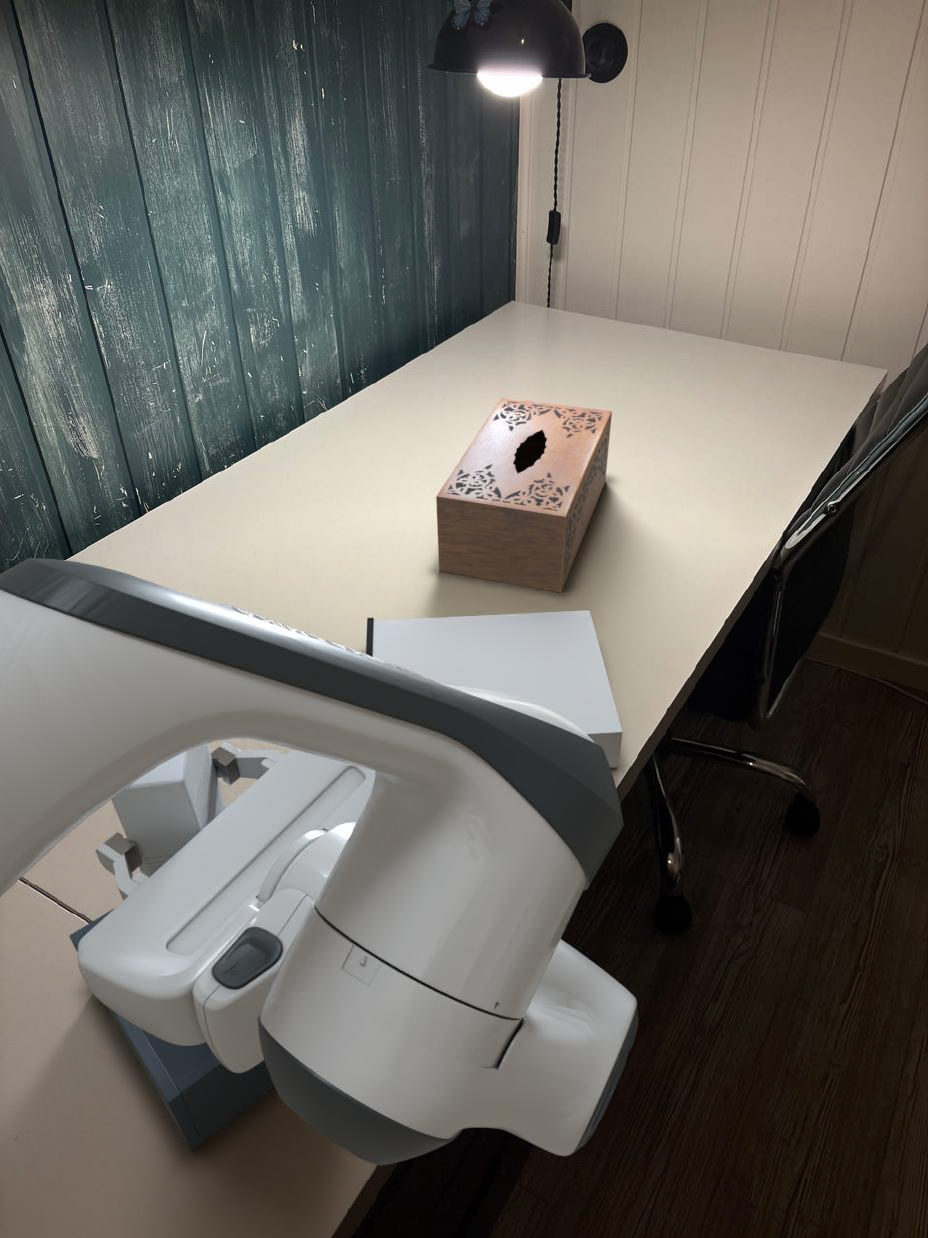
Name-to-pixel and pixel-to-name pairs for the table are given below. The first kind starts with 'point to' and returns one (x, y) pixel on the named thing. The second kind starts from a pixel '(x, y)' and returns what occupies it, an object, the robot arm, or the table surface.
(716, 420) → the table surface
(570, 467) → the tissue box cover
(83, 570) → the robot arm
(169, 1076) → the bin
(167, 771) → the cosmetic box
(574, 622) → the disc drive
